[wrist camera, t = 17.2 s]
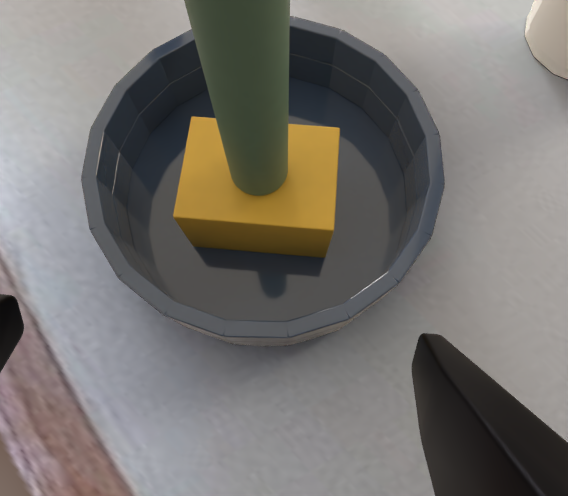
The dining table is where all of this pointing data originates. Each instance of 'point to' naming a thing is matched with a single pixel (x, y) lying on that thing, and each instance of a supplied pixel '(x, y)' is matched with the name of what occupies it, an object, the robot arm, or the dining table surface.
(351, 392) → the dining table surface
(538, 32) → the foam cup
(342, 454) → the dining table surface
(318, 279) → the bowl
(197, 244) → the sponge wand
